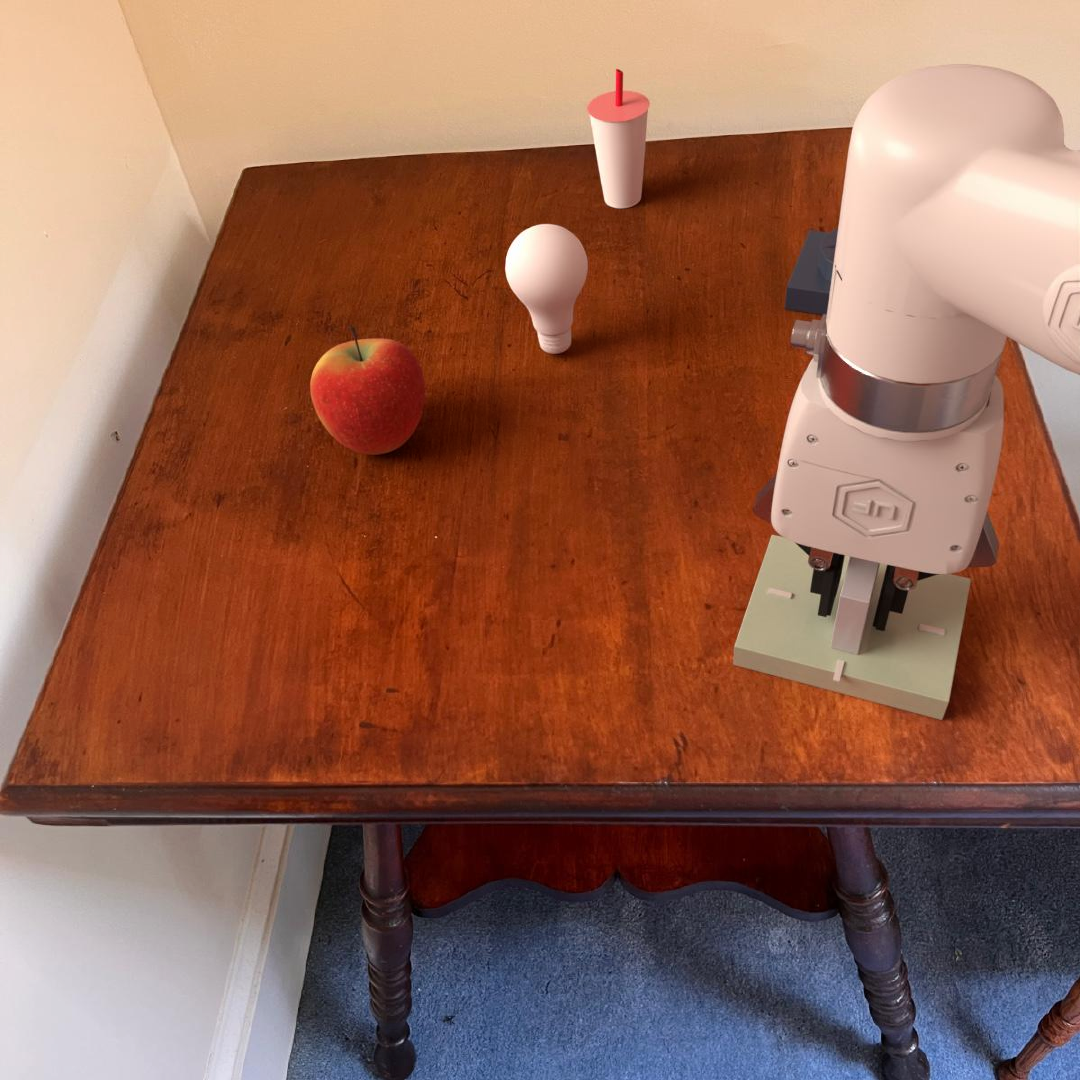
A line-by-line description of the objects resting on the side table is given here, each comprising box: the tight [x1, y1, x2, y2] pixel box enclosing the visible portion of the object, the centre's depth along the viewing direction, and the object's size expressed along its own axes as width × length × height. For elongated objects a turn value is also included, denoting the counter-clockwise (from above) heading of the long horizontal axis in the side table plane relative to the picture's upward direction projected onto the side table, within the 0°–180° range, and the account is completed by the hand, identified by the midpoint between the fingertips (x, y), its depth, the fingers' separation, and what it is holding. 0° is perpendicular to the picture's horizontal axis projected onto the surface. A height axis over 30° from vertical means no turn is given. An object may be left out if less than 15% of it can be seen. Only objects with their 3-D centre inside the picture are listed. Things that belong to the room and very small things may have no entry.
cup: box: [586, 68, 651, 209], centre depth 91 cm, size 5×5×12 cm
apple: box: [309, 325, 426, 456], centre depth 74 cm, size 8×8×10 cm
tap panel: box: [732, 534, 972, 721], centre depth 62 cm, size 12×10×2 cm
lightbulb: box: [504, 223, 589, 355], centre depth 78 cm, size 6×6×11 cm
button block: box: [784, 227, 838, 316], centre depth 82 cm, size 10×8×4 cm
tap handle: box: [830, 556, 880, 654], centre depth 59 cm, size 6×2×5 cm, turn 158°
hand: (855, 603), depth 60 cm, fingers closed
